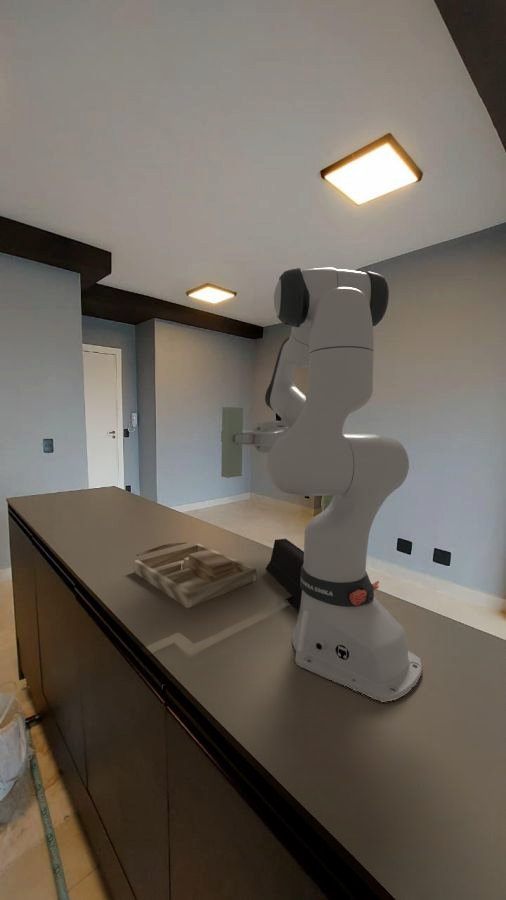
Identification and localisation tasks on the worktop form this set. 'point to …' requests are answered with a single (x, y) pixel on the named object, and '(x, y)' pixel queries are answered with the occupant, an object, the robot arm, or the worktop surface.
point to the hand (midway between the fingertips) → (229, 438)
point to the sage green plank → (231, 442)
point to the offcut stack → (209, 566)
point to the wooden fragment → (160, 548)
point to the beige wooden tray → (189, 576)
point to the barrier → (287, 569)
